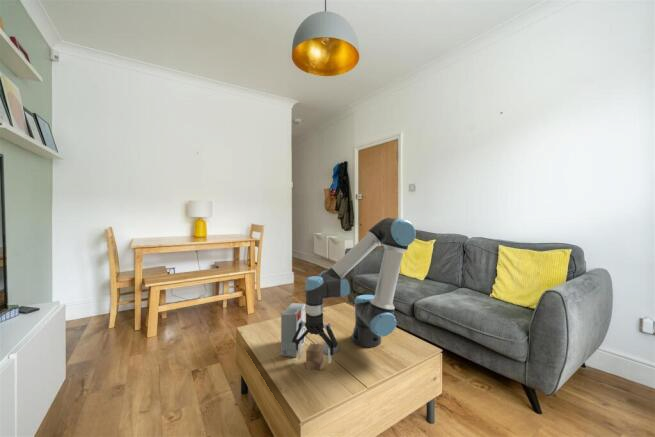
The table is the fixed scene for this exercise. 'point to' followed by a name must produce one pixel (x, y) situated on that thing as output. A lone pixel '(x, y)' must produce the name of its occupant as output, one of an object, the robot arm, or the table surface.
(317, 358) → the walnut block
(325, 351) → the slate coaster
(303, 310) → the hard drive box
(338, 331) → the table surface
